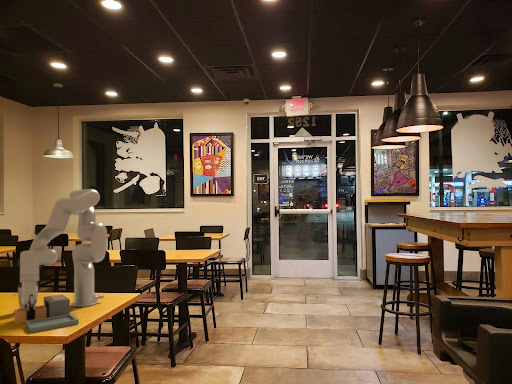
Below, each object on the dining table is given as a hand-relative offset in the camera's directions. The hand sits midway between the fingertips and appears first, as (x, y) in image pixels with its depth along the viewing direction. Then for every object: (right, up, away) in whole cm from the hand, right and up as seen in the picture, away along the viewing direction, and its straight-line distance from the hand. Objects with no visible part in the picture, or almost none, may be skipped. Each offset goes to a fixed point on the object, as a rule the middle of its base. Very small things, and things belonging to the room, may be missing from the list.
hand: (29, 317), depth 176 cm
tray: (+15, 0, -10) cm, 18 cm away
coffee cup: (-10, -2, +16) cm, 19 cm away
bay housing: (+9, -1, +7) cm, 11 cm away
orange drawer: (0, -1, 0) cm, 1 cm away
